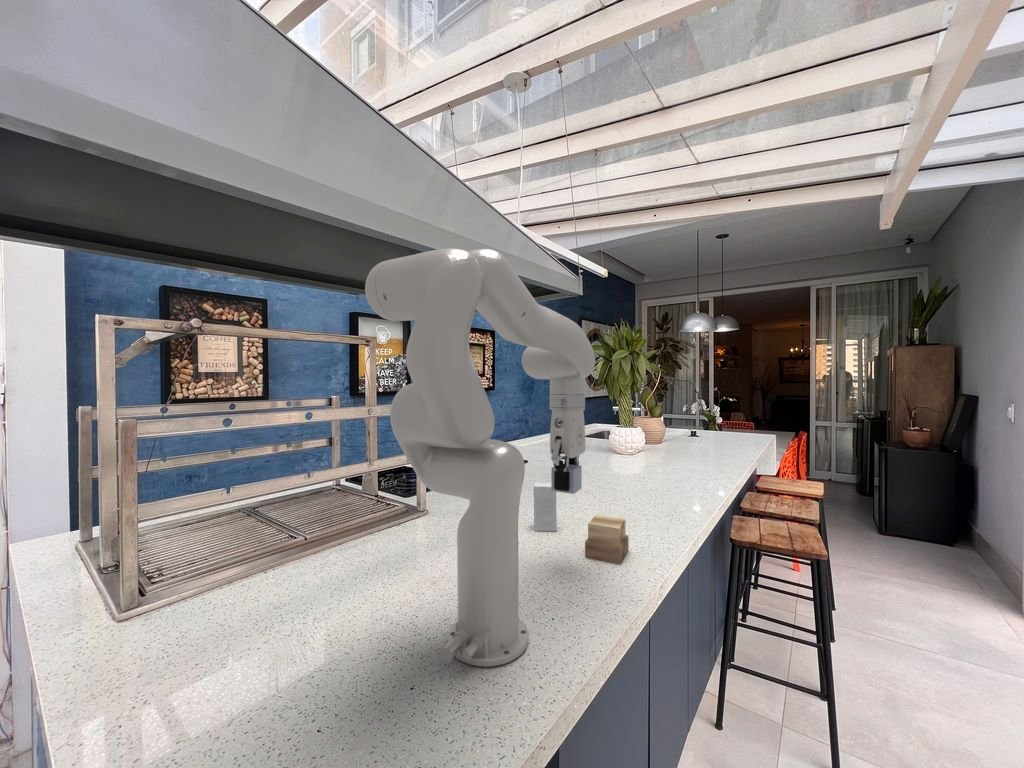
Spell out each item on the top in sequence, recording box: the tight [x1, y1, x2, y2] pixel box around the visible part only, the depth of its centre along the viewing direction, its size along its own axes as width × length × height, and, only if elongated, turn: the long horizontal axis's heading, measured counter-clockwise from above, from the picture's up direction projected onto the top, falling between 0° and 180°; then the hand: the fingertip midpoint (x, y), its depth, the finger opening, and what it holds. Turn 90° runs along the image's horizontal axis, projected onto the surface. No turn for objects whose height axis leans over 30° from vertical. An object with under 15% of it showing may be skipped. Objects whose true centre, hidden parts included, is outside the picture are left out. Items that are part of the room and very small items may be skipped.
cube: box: [550, 464, 583, 495], centre depth 91 cm, size 5×5×5 cm
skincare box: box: [533, 482, 558, 532], centre depth 114 cm, size 6×4×12 cm
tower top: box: [587, 514, 627, 547], centre depth 98 cm, size 7×7×4 cm
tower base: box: [584, 534, 630, 566], centre depth 98 cm, size 8×8×4 cm
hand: (566, 486), depth 91 cm, fingers closed on cube, 5 cm apart
